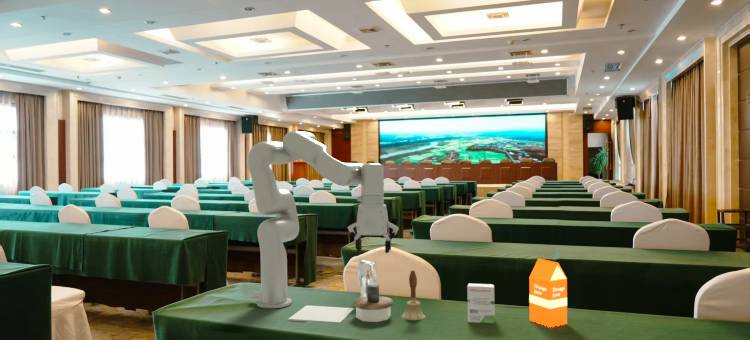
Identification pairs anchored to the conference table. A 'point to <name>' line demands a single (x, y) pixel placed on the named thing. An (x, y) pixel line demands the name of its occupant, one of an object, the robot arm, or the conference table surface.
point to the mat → (321, 314)
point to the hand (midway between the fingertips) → (373, 251)
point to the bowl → (373, 314)
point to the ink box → (481, 303)
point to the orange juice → (548, 294)
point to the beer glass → (366, 275)
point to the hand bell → (413, 302)
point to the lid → (373, 300)
